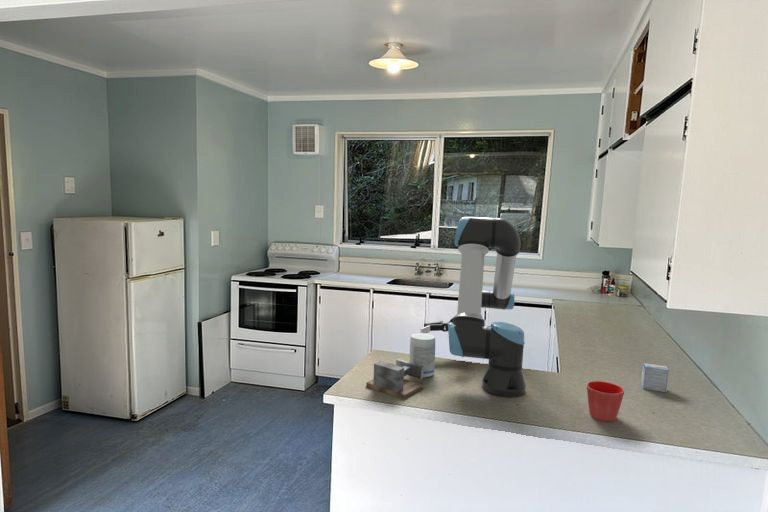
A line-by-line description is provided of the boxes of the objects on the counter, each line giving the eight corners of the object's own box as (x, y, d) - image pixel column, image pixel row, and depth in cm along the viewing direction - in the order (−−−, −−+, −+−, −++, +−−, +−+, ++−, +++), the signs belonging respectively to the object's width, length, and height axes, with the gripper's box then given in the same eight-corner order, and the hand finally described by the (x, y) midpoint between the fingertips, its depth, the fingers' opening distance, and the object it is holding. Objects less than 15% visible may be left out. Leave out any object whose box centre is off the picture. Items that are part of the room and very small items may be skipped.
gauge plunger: (423, 377, 173) (423, 365, 173) (414, 382, 168) (414, 370, 168) (396, 370, 180) (397, 358, 179) (387, 374, 175) (388, 362, 174)
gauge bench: (422, 388, 168) (423, 364, 167) (404, 399, 159) (405, 373, 158) (385, 377, 178) (386, 353, 177) (366, 386, 168) (367, 361, 167)
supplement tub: (439, 375, 182) (441, 338, 180) (419, 380, 177) (421, 341, 175) (423, 367, 190) (425, 331, 188) (403, 371, 185) (405, 334, 183)
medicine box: (663, 388, 179) (666, 366, 178) (666, 392, 174) (669, 369, 173) (640, 384, 181) (642, 362, 180) (642, 389, 177) (644, 366, 176)
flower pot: (577, 408, 157) (580, 380, 156) (609, 408, 158) (612, 380, 157) (594, 424, 147) (597, 393, 146) (628, 424, 148) (631, 393, 147)
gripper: (486, 338, 201) (463, 351, 183) (434, 327, 215) (408, 338, 198) (487, 321, 200) (465, 332, 182) (435, 310, 214) (409, 320, 197)
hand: (435, 335), depth 190 cm, fingers open, 13 cm apart
